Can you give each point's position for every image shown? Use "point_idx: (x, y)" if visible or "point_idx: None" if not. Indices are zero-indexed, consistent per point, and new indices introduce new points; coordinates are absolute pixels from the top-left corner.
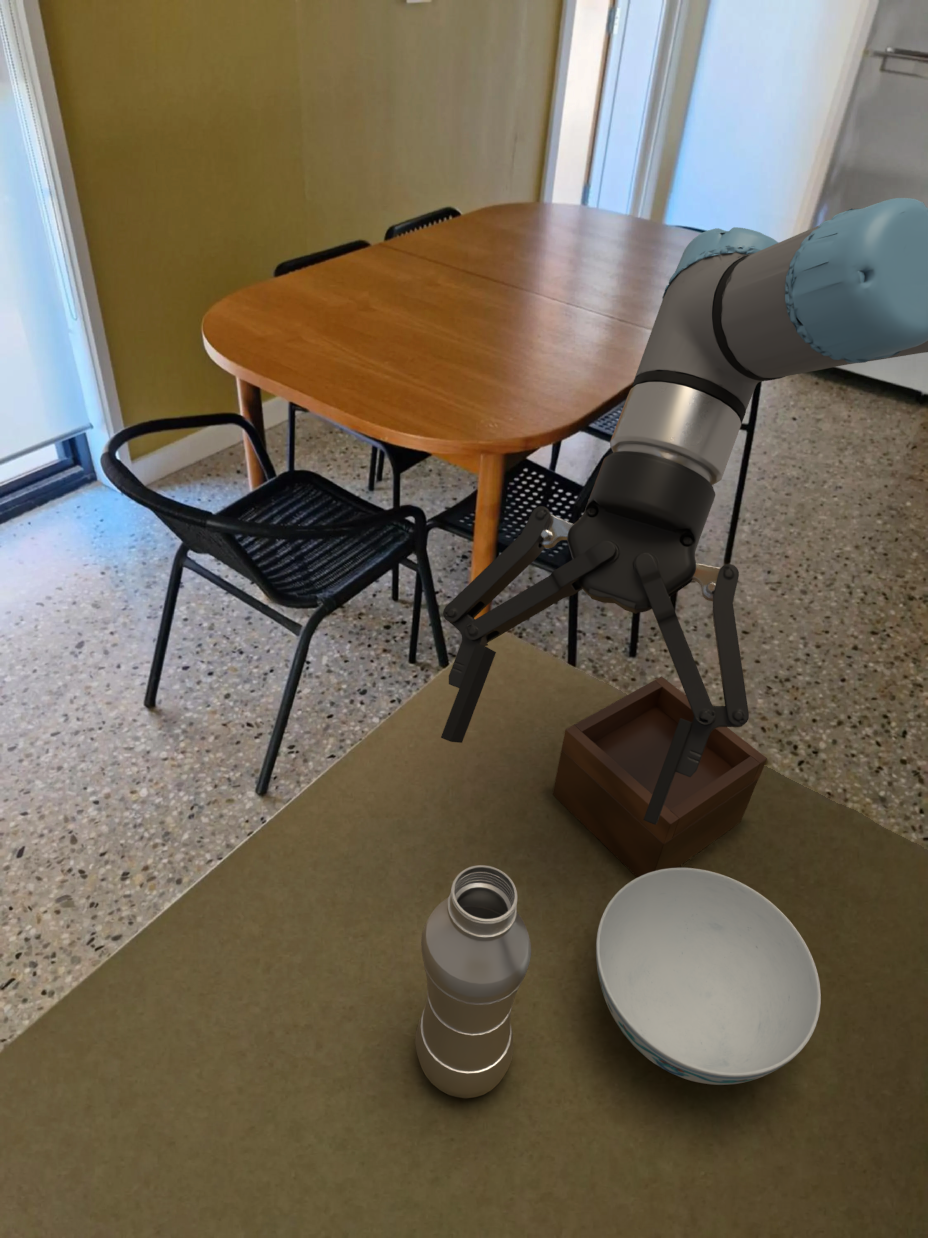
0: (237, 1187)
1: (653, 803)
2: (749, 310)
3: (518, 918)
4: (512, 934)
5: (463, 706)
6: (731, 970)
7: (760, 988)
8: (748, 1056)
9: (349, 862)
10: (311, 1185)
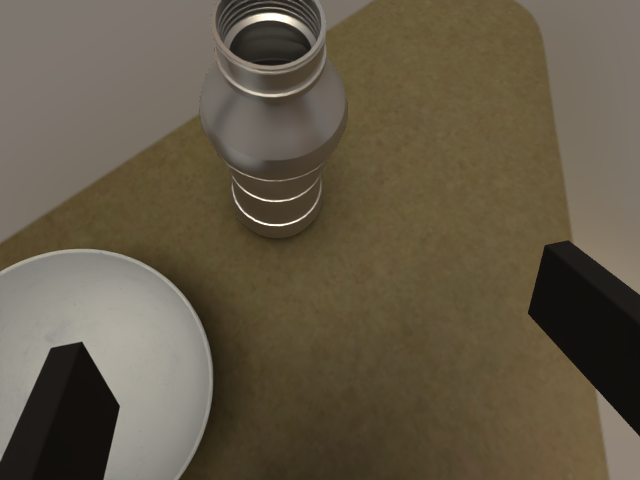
0: (350, 43)
1: (58, 380)
2: None
3: (235, 126)
4: (221, 83)
5: (611, 296)
6: None
7: None
8: (26, 359)
9: (493, 292)
10: None
